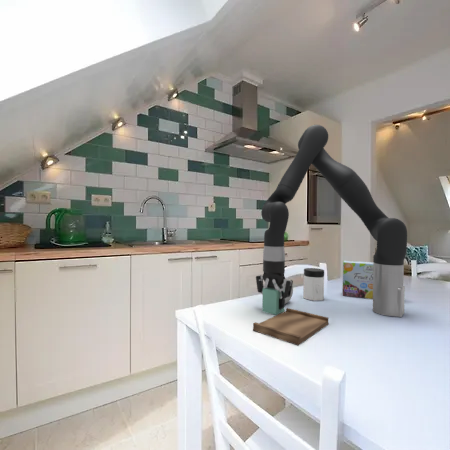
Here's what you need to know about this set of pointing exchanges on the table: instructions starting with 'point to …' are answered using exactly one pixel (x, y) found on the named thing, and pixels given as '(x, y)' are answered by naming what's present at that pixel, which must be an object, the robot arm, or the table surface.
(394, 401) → the table surface
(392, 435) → the table surface
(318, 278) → the jar
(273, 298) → the block
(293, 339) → the board
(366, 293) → the snack box
